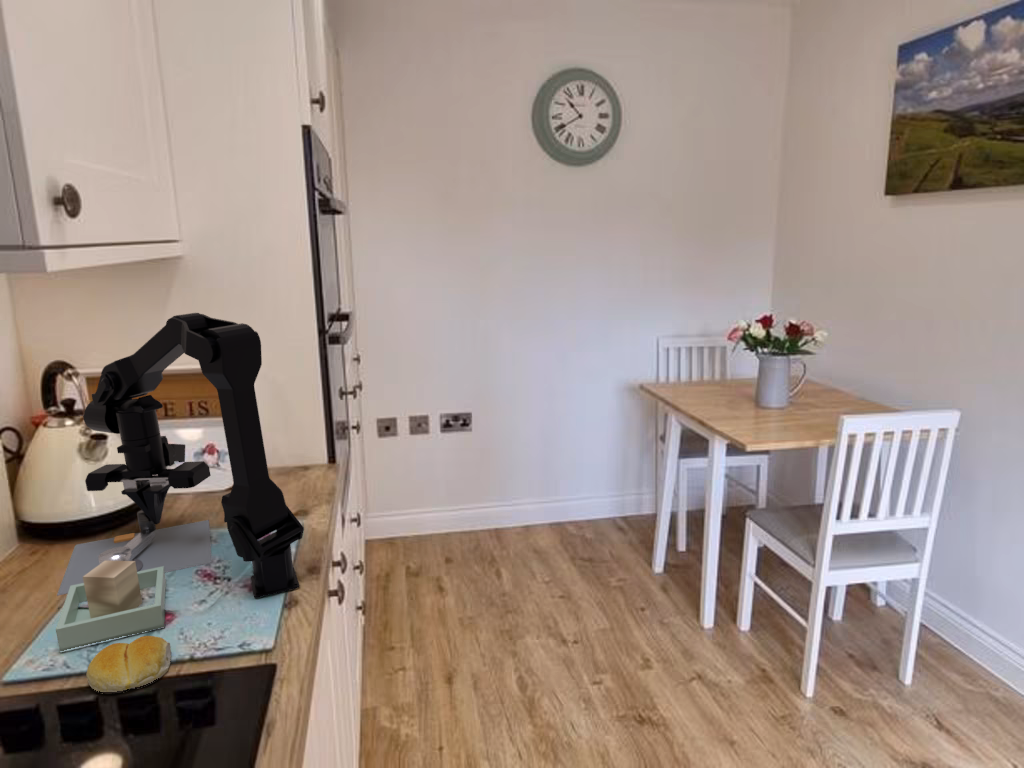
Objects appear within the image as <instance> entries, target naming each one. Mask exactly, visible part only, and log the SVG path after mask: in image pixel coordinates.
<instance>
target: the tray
mask: <svg viewBox="0 0 1024 768" xmlns="http://www.w3.org/2000/svg"><path fill="white" fill-rule="evenodd" d="M137 575H138V580H139V586H140V590H143V589H148V588H153V587H155V591H154V592H155V593H154V603H152V604H148V605H144V606H138V607H137V608H135V609H130V610H126V611H122V612H117V613H113V614H109V615H104V616H100V617H96V618H90V613H89V607H88V606H87V607H85V606H84V607H83V606H82V607H81V606H79V605H80V603H85V602H87V597H86V592H85V587H84V583H81V584H76V585H71V586H70V589H69V592H68V594H66V596H65V601H64V603H63V607H62V610H61V613H60V615H59V618H58V620H57V621H58V622H57V625H56V627H55V633H56V638H57V644H58V648H59V652H60V651H64V650H67V649H71V648H75V647H79V646H84V645H88V644H92V643H96V642H101V641H106V640H109V639H114V638H119V637H122V636H128V635H132V634H137V633H142V632H145V631H150V630H153V629H158V628H161V627H164V628H165V626H164V622H165V621H166V610H165V609H166V608H165V603H166V602H165V601H166V587H167V586H166V585H167V578H166V573H165V571H164V566H162V567H157V568H153V569H148V570H143V571H138V572H137ZM165 623H166V622H165Z"/></svg>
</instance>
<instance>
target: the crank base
mask: <svg viewBox="0 0 1024 768" xmlns="http://www.w3.org/2000/svg"><path fill="white" fill-rule="evenodd" d="M139 533H140V532H136V533H135V532H132V533H131V532H130V533H126V534H121V535H116V536H114V537H111V538H105V539H104V538H103V539H99V540H95V541H90V542H89V541H88V542H84V543H83V542H82V543H77V544H75V546H74V548H73V551H72V553H71V556H70V558H69V561H68V565H67V567H66V570H65V573H64V575H63V578H62V580H61V583H60V586H59V588H58V591H57V594H56V596H57V597H58V596H62V595H68V592H69V589H70V586H71V585H76V584H81V583H84V581H83V576H85V575H86V574H87V573H89V572H90V571H91V570H93V569H94V568H96V567H97V566H98V565H100V564H99V559H98V556H99V555H100V554H101V553H102V552H104V551H106V550H109V549H112V548H116V547H124V546H125V545H126V544H127V543H129V542H130V541H131V540H132V539H133V538H134V537H136V536H137V535H138V534H139ZM210 533H211V531H210V519H207V520H205V519H204V520H201V521H195V522H190V523H184V524H180V525H174V526H169V527H163V528H159V529H157V528H156V530H155V531H154V534H155V539H154V540H153V541H152V542H151V543H150V544H149V545H147V546H146V547H145V548H144V549H143V550H142V551H141V552H140V553H139V554H138V555H137V556H136V557H134V558H133V559H132V560H133V561H135V563H136V569H137V572H138V571H143V570H148V569H153V568H157V567H162V566H164V571H165V574H166V573H170V572H175V571H181V570H183V569H184V570H185V569H189V568H192V567H199V566H204V565H207V564H212V563H213V559H212V546H211V534H210Z"/></svg>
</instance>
